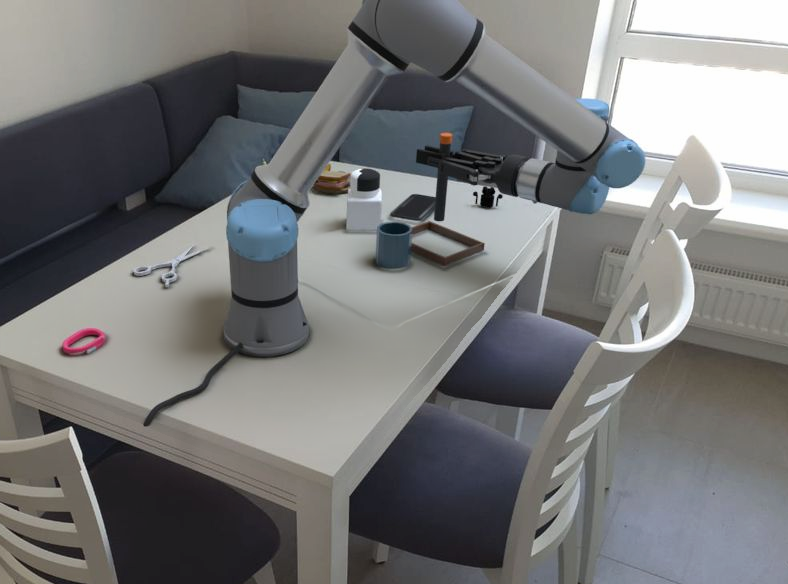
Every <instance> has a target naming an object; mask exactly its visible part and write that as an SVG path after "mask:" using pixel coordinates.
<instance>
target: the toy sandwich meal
mask: <svg viewBox="0 0 788 584" xmlns="http://www.w3.org/2000/svg"><path fill="white" fill-rule="evenodd" d="M331 169H332V165H331V163H328V165H327V166H326V167H325V169H324V170H323V172H322V173H321V175H320V176H319V177H318V179H317V180H316V182H315V183H314V184H313V186H312V187H314V189H316V190H317V191H319V192H323V193H327V194H344V193H348V189H350V183H351V173H350V172H346V171H342V170H338V171H332V170H331Z"/></svg>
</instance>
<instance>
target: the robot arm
mask: <svg viewBox="0 0 788 584" xmlns="http://www.w3.org/2000/svg"><path fill="white" fill-rule="evenodd" d="M346 35H347V46H346V47H345V48H344V50H343V52H342V53H341V55H340V56H339V57H338V59H337V61H336V62H335V63H334V65H333V67H332V68H331V70H329V73H328V74H327V76H326V77H325V78H324V79H323V81H322V83H321V85H320V86H319V87H318V89H317V91H316V92H315V93H314V95H313V97H311V100H310V101H309V102H308V104H307V105H306V107H305V108H304V110H303V111H302V113H301V114H300V116H299V118H298V119H297V120H296V122H295V124H294V125H293V126H292V128H291V130H290V131H289V133H288V134H287V135H286V137H285V138H284V140H283V142H282V143H281V145H280V146H279V147H278V149H277V150H276V152H275V154H274V155H273V157H272V158H271V160H270V161H269V162H268V163H266V165H263V164H262V165H261V164H260V165H257V166H256V167H255V169H254V170H253V171H252V173H251V174H250V175H249V177H248V178H247V180H245V181H243V182H242V183H240V184H239V185H238V186H236V188H235V189H234V191H232V193H231V196H230V197H229V200H228V202H227V203H228V204H227V208H226V228H225V235H226V240H227V247H228V262H229V263H228V264H229V278H230V280H229V281H230V291H231V292H230V293H231V294H230V295H231V300H230V303H229V307H228V310H227V314H226V318H225V320H224V323H223V339H224V342H225V343H226V345H227V346H228V347H229V348H231V350H230V351H229V352H228V353H227V354H225V356H223V357H222V358H221V359H220V360H219V361H218V362H217V363H216V364H215V365H213V366H212V367H211V368H210V369H209V371H208V372H207V373H206V375H205V377H204V379H203V381H202V382H201V384H199V386H197V387H195V388H192V389H190V390H186V391H183V392H181V393H178V394H176V395H174V396H172V397H170V398H168V399H166V400H163V401H162V402H159V403H157V404H156V405H155V406H154V407H153V408H152V409H151V410H150V412H149V413H148V414H147V416H146V417H145V420H144V422H143V427H145V428H146V427H149V426H150V425H151V423H152V422H153V420H154V418H155V417H156V415H157V414H158V413H159V412H160V411H161V410H163V409H164V408H166V407H168V406H170V405H173V404H174V403H177V402H178V401H180V400H183V399H185V398H188V397H192V396H195V395H197V394H199V393H201V392H202V391H204V390H205V389H206V388H207V387H208V386H209V384H210V381H211V379H212V377H213V376H214V375H215V374H216V373H217V372H218V371H219V370H220V369H221V368H222V367H223V366H224V365H225V364H227V363H228V362H229V361H230V360H231V359H232V358H233V357H234V356H235V355H236V354H237V353H240V354H243V355H246V356H252V357H261V358H262V357H263V358H264V357H266V358H267V357H277V356H282V355H285V354H290V353H292V352H294V351H296V350H298V349H300V348H302V347H303V346H304V345H305V344H306V342H307V341H308V339H309V336H310V335H309V334H310V326H309V321H308V317H307V315H306V314H305V310H304V307H303V305H302V302H301V299H300V297H299V273H298V272H299V270H298V263H299V262H298V237H299V225H298V222H299V220H300V219H301V218H302V216H303V215H304V213H305V212H306V210H307V209H308V208H309V206H310V199H309V192H310V190H311V189H312V188H313V187H314V186H313V184H314V183H315V182H316V180H317V179H318V177H319V176H320V175H321V173H322V172H323V170H324V169H325V167H326V166H327V165H328V164H330V162H331V160H332V159H333V158H334V156H335V155H336V154H337V152H338V151H339V149H340V148H341V146H342V145H343V143H344V142H345V140H346V139H347V137H348V136H349V135H350V133H351V132H352V130H353V129H354V128H355V126H356V125H357V123H358V122H359V120H361V118H362V117H363V115H364V114H365V112H366V111H367V109H368V108H369V106H370V105H371V103H372V102H373V101H374V99H375V98H376V96H377V95H378V94H379V92H380V91H381V89H382V88H383V87H384V85H385V84H386V82H387V81H388V79H389V78H390V77H392V76H395V75H401V74H404V73H405V71H406V70H407V68H408V67H409V65H410V64H414V65H416V66H417V67H419V68H421V69H423V70H425V71H427V72H429V73H431V74H432V75H434V76H435V77H436V78H438V79H440V80H441V81H442V82H444V83H449V82H453V81H455V82H457V83H459V84H460V85H461V86H463V87H464V88H466V89H467V90H469V91H470V92H471V93H473V94H474V95H476V96H477V97H479V98H480V99H482V100H483V101H485V102H486V103H487V104H489V105H491V106H492V107H493V108H495V109H496V110H498V111H499V112H501V113H502V114H503V115H505V116H506V117H508V118H510V119H511V120H512V121H514V122H515V123H517V124H518V125H519V126H521V127H523V128H524V129H525V130H527V131H529V132H530V133H531V134H533V135H534V136H536V137H537V138H538V139H540V140H542V141H543V142H544V143H546V144H547V145H549V146H550V147H552V148H553V149H554V150H556V157H555V162H552V161H547V160H543V159H539V158H534V157H533V158H532V157H531V158H529V157H527V156H523V155H519V154H510V155H508V154H507V155H506V154H505V155H502V154H494V153H489V152H483V151H478V150H471V149H461V150H462V151H460V150H455V151H454V150H450V158H448V157H446V156H447V153H443V154H440V153H439V149H440V147H437V146H432V145H428V144H427V145H425V146H424V149H421V148H417V149H416V155H415V163H416V164H421V165H425V166H427V167H433V168H437V169H438V168H439V173H440V174H443V175H446V176H448V178H452V179H455V180H459V181H462V182H465V183H468V184H470V186H478V182H483V183H485V184H495V185H496V187H497V191H498V192H499V194H502V195H507V196H509V197H513V198H514V197H515V198H519V199H523V200H528V201H531V202H532V204H533V205H535V204H544V205H547V206H551V207H555V208H558V209H562V210H565V211H569V212H571V213H579V214H583V215H594V214H596V213H597V212H599V211H600V210H601V208H603V206H604V204H605V202H606V200H607V198H608V195H609V191H610V188H611V189H623V188H626V187H628V186H630V185H632V184H633V183H635V182H636V181H637V179H639V178H640V176H641V175H642V173H643V172H644V169H645V166H646V155H645V152H644V150H643V149H642V147H640V146H639V144H638V143H637V142H636V141H634V140H633V139H631V138H629V137H628V136H626V135H625V134H624V133H622V132H621V131H619V130H618V129H617V128H615V127H614V126H612V125H611V124H609V123H608V121H609V119H610V105H609V103H607V102H606V101H604V100H601V99H598V98H597V99H596V98H588V97H587V98H574V97H573V96H571V95H570V94H568V93H567V92H566V91H565V90H563V89H561V88H560V87H559V86H558V85H556V84H555V83H553V82H552V81H550V80H549V79H548V78H546V77H545V76H543V75H542V74H541V73H539V72H538V71H537V70H536V69H534V68H533V67H532V66H530V65H528V64H527V63H526V62H524V61H523V60H521V59H520V58H519V57H518V56H516V55H515V54H514V53H512V52H511V51H509V49H507V48H505V47H504V46H502V45H501V44H500V43H499V42H497V41H496V40H494V39H493V38H492V37H490V36H489V35H488V34H486V25H485V23H483V22H482V21H481V20H479V19H478V18H477V17H476V16H474V15H473V14H472V13H471V12H470V11H469V10H468V9H467V8H465V7H464V6H463V5H462V4H461V3H460V2H459V1H458V0H362V2H361V7H360V8H359V10H358V11H357V12H356V15H355V16H354V18H353V19H352V21H351V22H350V24H349V25H348V27H347V28H346Z"/></svg>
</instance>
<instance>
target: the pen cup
mask: <svg viewBox="0 0 788 584" xmlns="http://www.w3.org/2000/svg"><path fill="white" fill-rule="evenodd" d="M412 227H413V226H411V225H410V224H407V223H406V222H401V221H386V222H383V223H382V222H381V224H380V225H379V226H377V230H376V239H375V263H376V264H377V265H378V266H379V267H381V268H385V269H402V268H405V267H408V266H409V265H410V264H411V259H412V258H411V255H412V251H411V244H412V243H413V235H412Z"/></svg>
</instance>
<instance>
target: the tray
mask: <svg viewBox="0 0 788 584" xmlns="http://www.w3.org/2000/svg"><path fill="white" fill-rule="evenodd" d="M411 227H412V236H414V235H416V234H419V233H422V232H425V231H428V230H430V231H432V232H435V233H437V234H440V235H442V236H445V237H447V238H449V239H452V240H454V241H457V242H459V243H462V244H464V245H466V246H469V247H467V248H465V249H462V250H460V251H456V252H455V253H452V254H449V255H447V256H443V255H442V254H439V253H437V252H435V251H433V250H430V249H427V248H426V247H422V246H421V245H418V244H416V243H413V242H412V244H411V253H414V254H416V255H418V256H421V257H423V258H425V259H427V260H430V261H432V262H434V263H436V264H439V265H441V266H443V267H446V266H448V265H451V264H453V263H456V262H458V261H461V260H463V259H466V258H468V257H471V256H474V255H476V254H479V253H481V252H483V251H485V245H486V243H485V242H484V241H481V240H478V239H475V238H473V237H470V236H468V235H465V234H464V233H461V232H458V231H456V230H453V229H450V228H448V227H445V226H443V225H441V224H438V223H436V222H433V221H431V220H428V221H426V222H425V221H424V222H422V223H420V224H416V225H414V226H411Z"/></svg>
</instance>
